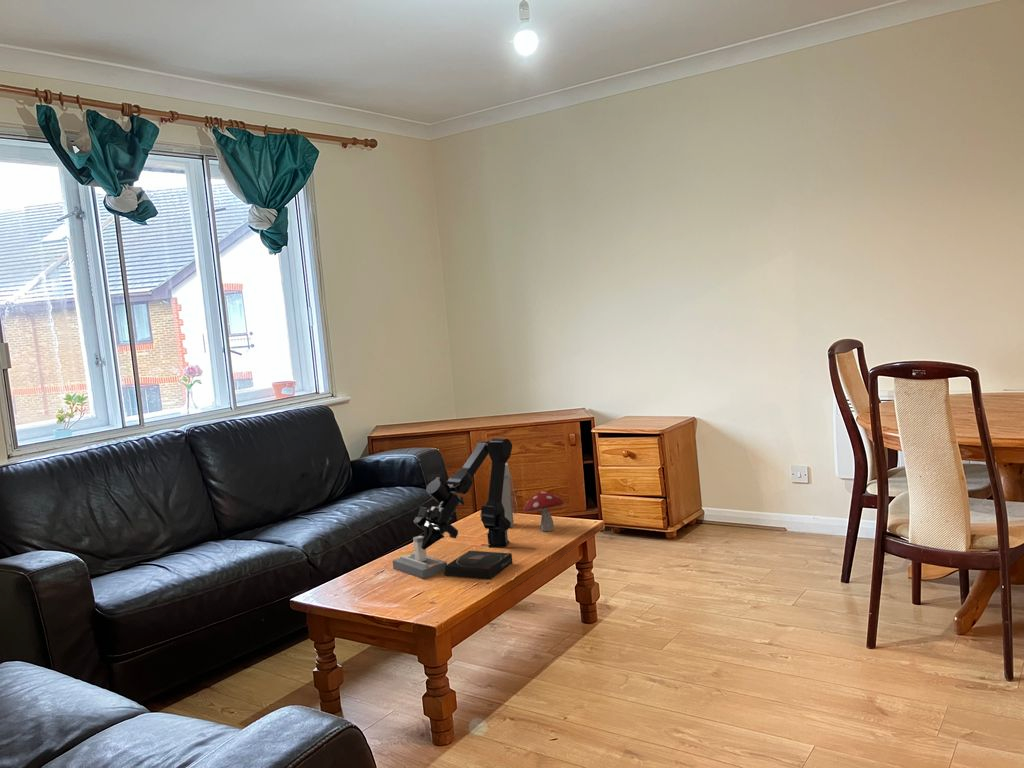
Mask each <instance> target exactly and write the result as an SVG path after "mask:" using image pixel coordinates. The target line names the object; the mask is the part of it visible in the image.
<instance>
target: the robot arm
mask: <svg viewBox="0 0 1024 768" xmlns="http://www.w3.org/2000/svg"><path fill="white" fill-rule="evenodd" d="M512 450H513V443H512V442H511V440H510V439H508V438H498V437H495V438H491V440H481V441H478V442H477V444H476V447H475V449H473V452H472V453H471V454H470V456H469V457H468V458H467V460H466V462H465V463H464V464H463V465H462V467H461V468H460V469H459V470H457V471H456V472H454V473H453V474H451V476H450V477H449V478H448V479H447V480H446V481H445V480H444V479H443V478H442V477H440V476H435V479H433V480H432V481H430V482H429V483H428V484H427V486H426V489H425V491H426V493H427V494H428V495H429V496H430V497H432V498H433V499H434V500H435V501H436V502H437V503H439V504H438V506H436V505H435V506H433V505H432V506H431V508H430V507H425V506H421V505H420V506H419V510H418V516H415V517H414V520H413V523H414V525H416V526H418V527H419V528H420V529H421V530H422V531H423V537H424V538H423V543H422V547H421V548H422V549H424V550H425V549H428V548H429V547H430V546H431V547H432V545H434V544H435V543H436V542H438V541H440V540H441V539H444V538H445V536H444V535H445V533H448V534H449V538H452V539H454V540H455V539H457V538H458V535H459V529H457V528H456V527H454V525H452V524H451V523H449V521H450V520H453V519H455V516H454V513H455V511H456V509H457V508H458V505H461V506H465V501H464V496H460V494H461V495H466V494H468V493H469V491H470V489H471V487H472V484H473V483H474V482H473V479H474V475H476V473H477V472H478V469H479V468H480V467H481V465H482V464H483V463H484V461H485V460H486V458H487V456H488V455H489V458H490V461H491V470H490V478H489V488H488V498H487V502H486V503H485V505H482V506H481V508H480V509H481V511H480V515H479V516H480V522H482V524H483V527H484V529H485V530H487V531H488V532H487V533H486V534H487V535H486V536H487V545H488V548H505V547H507V545H508V544H509V543H510V540H509V539H508V538H509V537H508V530H509V529H510V528H511V527H510V525H511V522H510V521H509V520H508V519H507V518H506V517H505V510H504V507H503V505H502V492H503V482H504V473H505V464H506V463H508V461H509V459H510V457H511V454H512ZM458 494H459V495H458Z"/></svg>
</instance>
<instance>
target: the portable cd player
mask: <svg viewBox="0 0 1024 768" xmlns="http://www.w3.org/2000/svg"><path fill="white" fill-rule="evenodd" d="M512 563H513V554H512V552H510V553H508V552H499V551H495V552H494V551H485V550H484V551H481V550H468V551H466V552H465V553H463V554H462V555H460V556H458V557H457V558H455V559H454V560H452V561H450V562H449V563H447V565H446V566H445V572H443V573H444V575H445V577H453V578H454V577H455V578H464V579H473V580H474V579H476V580H486V581H487V580H488V581H491V580H492V579H493V578H495V577H496V576H497V575H499V574H500V573H502V572H503V571H504V570H506V569H507V568H509V567H510V566H511V565H513V564H514V563H513V564H512ZM510 564H511V565H510ZM509 565H510V566H509ZM505 568H506V569H505ZM501 571H502V572H501Z"/></svg>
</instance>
